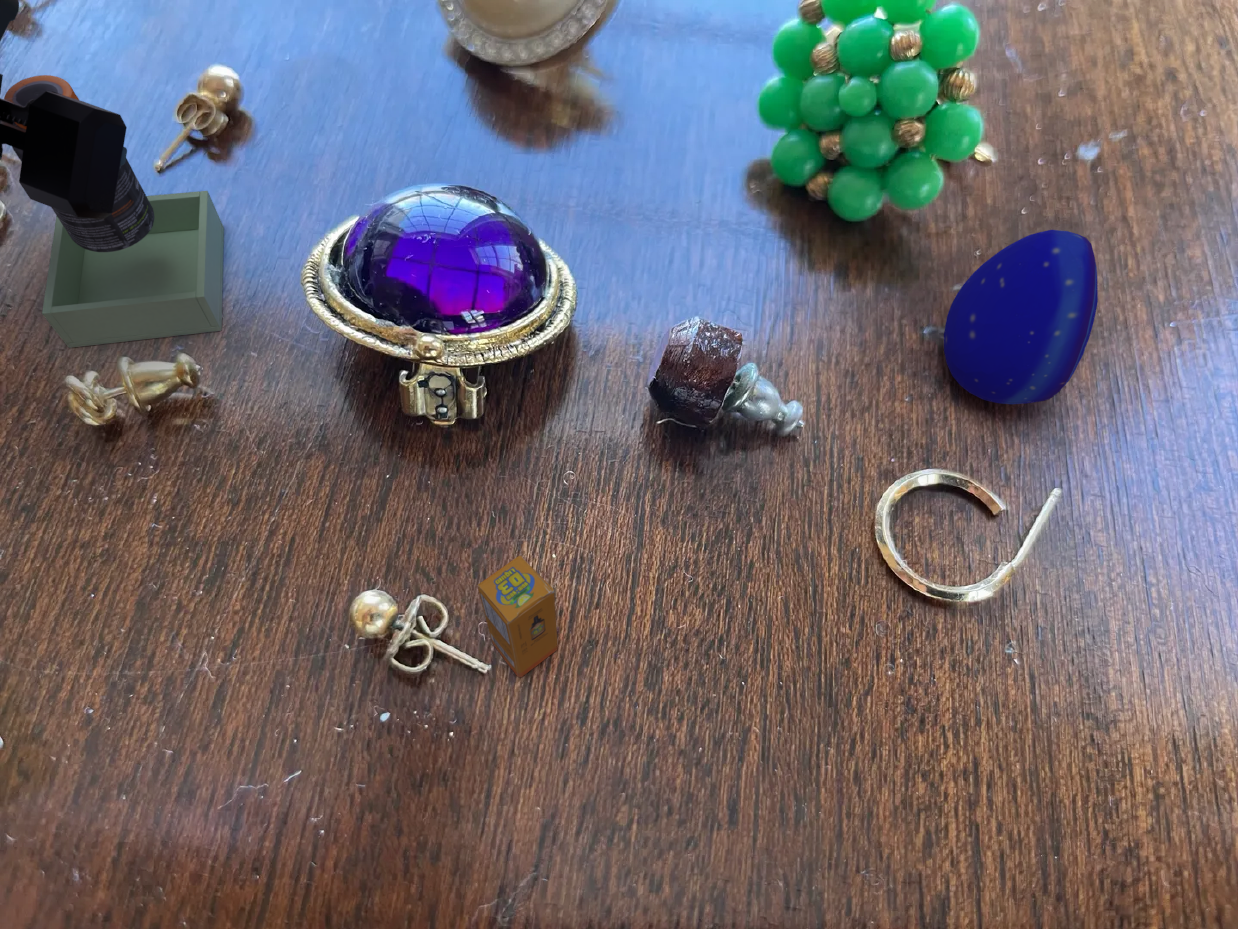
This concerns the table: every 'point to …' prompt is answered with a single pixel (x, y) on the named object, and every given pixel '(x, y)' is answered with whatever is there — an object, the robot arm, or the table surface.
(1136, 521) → the table surface
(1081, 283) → the ornament
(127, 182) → the pill bottle
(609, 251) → the table surface
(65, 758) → the table surface
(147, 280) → the bin
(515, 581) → the supplement box
